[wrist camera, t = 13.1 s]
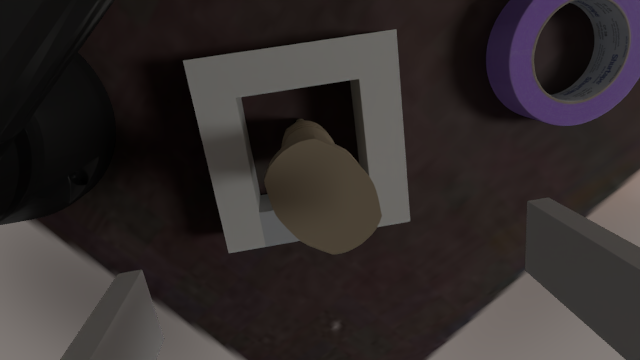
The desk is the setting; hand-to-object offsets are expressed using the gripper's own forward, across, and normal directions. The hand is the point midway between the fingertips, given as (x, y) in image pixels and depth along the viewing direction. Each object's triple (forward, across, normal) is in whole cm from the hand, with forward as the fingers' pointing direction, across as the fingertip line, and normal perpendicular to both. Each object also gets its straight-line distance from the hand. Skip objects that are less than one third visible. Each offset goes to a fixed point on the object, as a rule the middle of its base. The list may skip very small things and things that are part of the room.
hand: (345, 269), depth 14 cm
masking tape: (+22, +22, +4) cm, 32 cm away
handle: (+22, 0, 0) cm, 22 cm away
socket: (+22, 0, 0) cm, 22 cm away
